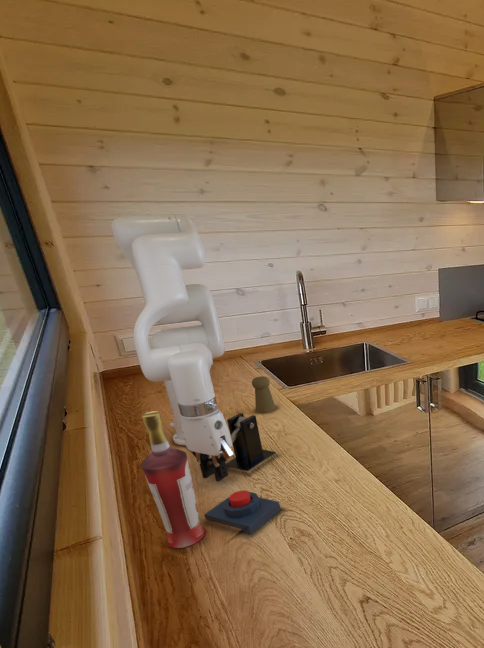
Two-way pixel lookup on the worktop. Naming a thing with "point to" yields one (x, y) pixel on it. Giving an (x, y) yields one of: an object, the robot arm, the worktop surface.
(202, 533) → the liquor
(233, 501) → the switch button
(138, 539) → the worktop surface
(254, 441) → the switch bracket
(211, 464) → the switch lever
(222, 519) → the switch box
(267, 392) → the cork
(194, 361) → the robot arm
